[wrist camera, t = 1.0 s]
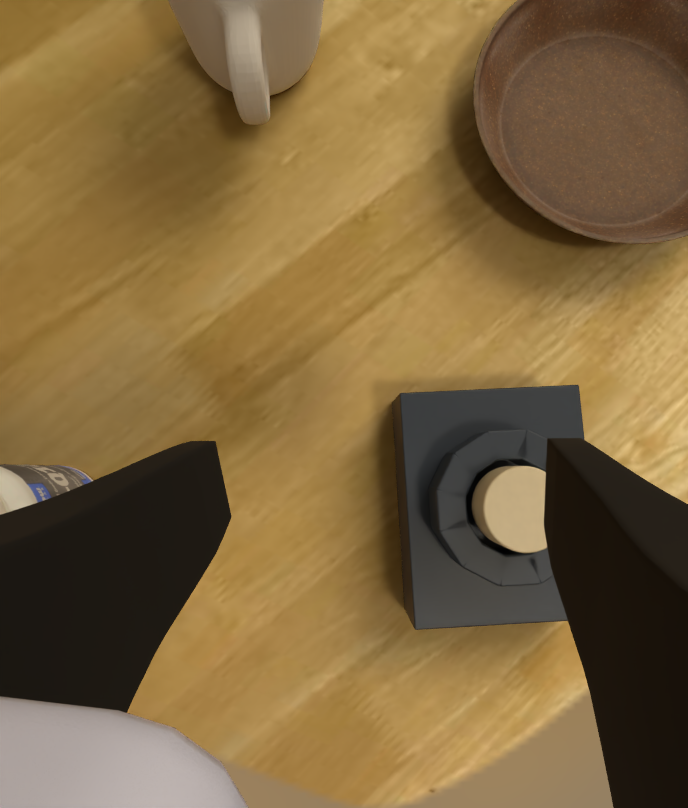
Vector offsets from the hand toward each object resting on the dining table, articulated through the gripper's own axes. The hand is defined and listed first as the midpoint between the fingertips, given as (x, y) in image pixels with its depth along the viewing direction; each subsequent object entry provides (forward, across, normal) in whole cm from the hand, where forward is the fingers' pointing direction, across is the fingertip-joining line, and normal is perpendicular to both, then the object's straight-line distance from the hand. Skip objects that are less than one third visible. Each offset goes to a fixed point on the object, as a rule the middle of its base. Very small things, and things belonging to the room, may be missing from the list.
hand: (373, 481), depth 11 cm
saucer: (+24, -9, -8) cm, 27 cm away
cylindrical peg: (+9, -4, +6) cm, 12 cm away
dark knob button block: (+13, -3, +9) cm, 16 cm away
